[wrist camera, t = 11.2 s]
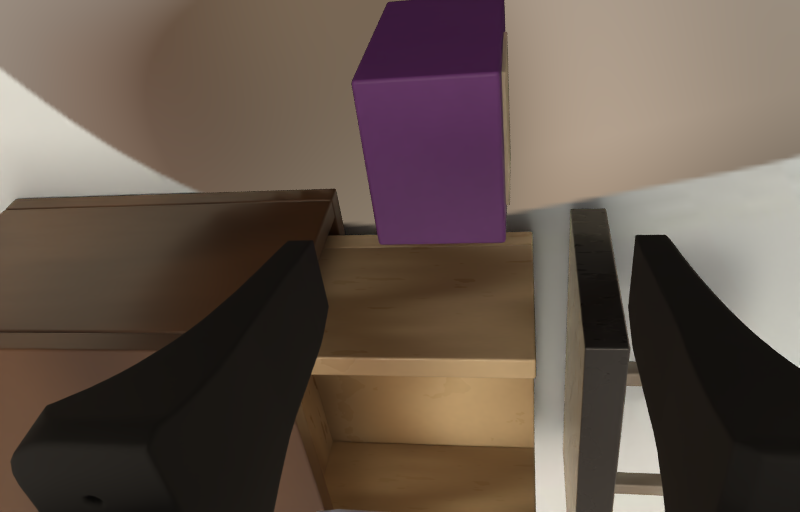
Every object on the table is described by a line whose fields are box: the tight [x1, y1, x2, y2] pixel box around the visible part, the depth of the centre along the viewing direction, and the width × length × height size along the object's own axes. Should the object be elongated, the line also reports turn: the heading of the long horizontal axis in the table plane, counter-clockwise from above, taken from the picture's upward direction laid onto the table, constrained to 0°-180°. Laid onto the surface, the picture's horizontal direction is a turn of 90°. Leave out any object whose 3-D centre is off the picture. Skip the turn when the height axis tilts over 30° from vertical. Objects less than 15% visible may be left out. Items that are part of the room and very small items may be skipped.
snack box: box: [352, 0, 511, 245], centre depth 20 cm, size 5×4×6 cm
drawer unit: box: [0, 189, 345, 512], centre depth 28 cm, size 14×15×9 cm
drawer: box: [301, 208, 663, 512], centre depth 26 cm, size 17×13×7 cm
